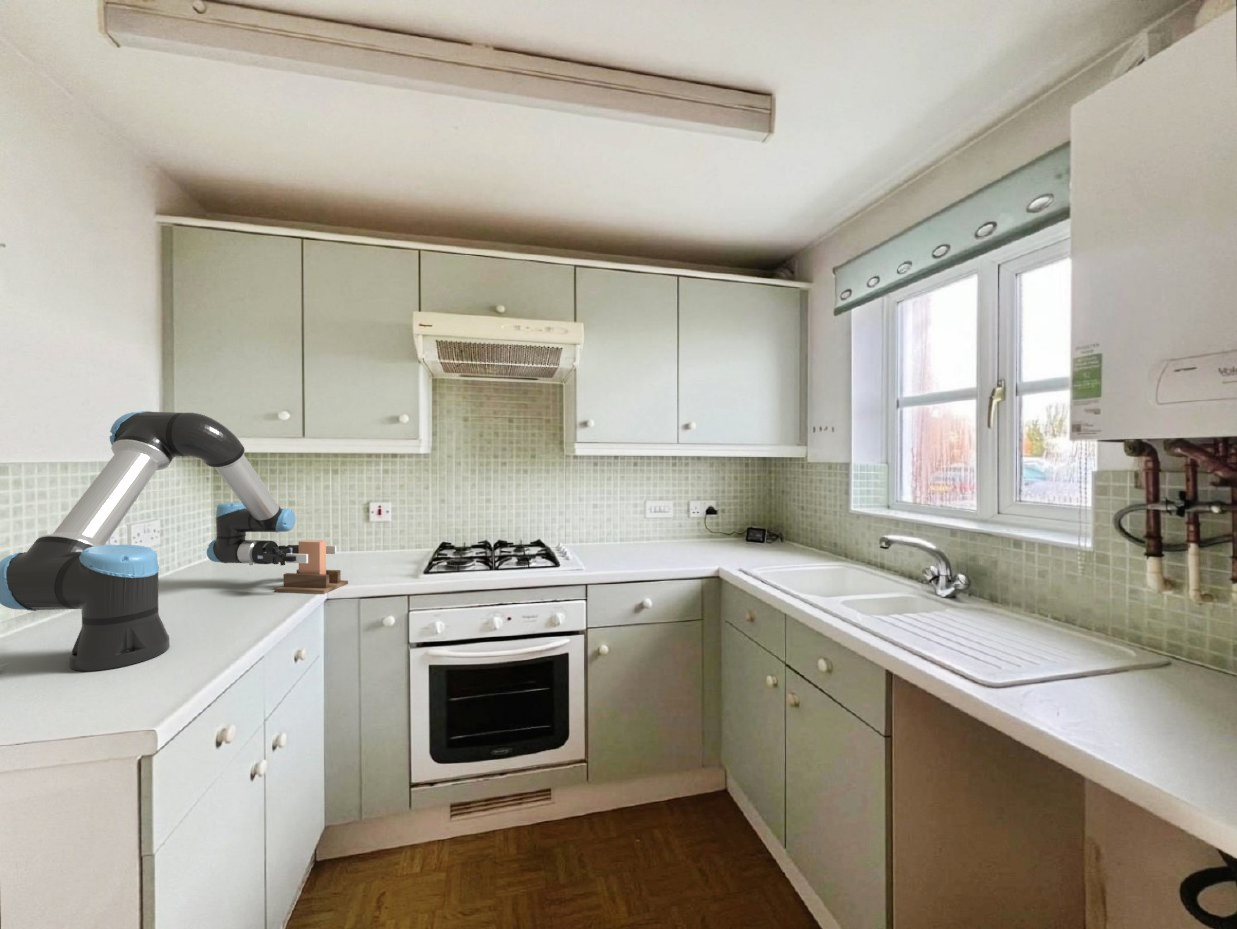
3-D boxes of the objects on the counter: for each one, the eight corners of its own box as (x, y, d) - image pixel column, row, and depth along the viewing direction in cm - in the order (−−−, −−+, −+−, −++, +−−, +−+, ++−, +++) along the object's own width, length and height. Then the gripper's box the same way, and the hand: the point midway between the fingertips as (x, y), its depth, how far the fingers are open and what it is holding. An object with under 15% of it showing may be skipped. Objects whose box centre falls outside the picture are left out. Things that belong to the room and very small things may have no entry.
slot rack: (323, 594, 154) (323, 577, 153) (274, 592, 155) (274, 576, 155) (348, 583, 166) (348, 568, 165) (302, 581, 167) (302, 567, 167)
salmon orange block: (319, 586, 158) (319, 542, 158) (298, 585, 159) (298, 541, 159) (326, 583, 161) (325, 540, 161) (305, 583, 162) (305, 539, 162)
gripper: (287, 555, 174) (346, 557, 172) (226, 573, 149) (293, 575, 147) (287, 534, 174) (346, 535, 172) (226, 548, 149) (293, 550, 147)
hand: (322, 554), depth 160 cm, fingers open, 13 cm apart
